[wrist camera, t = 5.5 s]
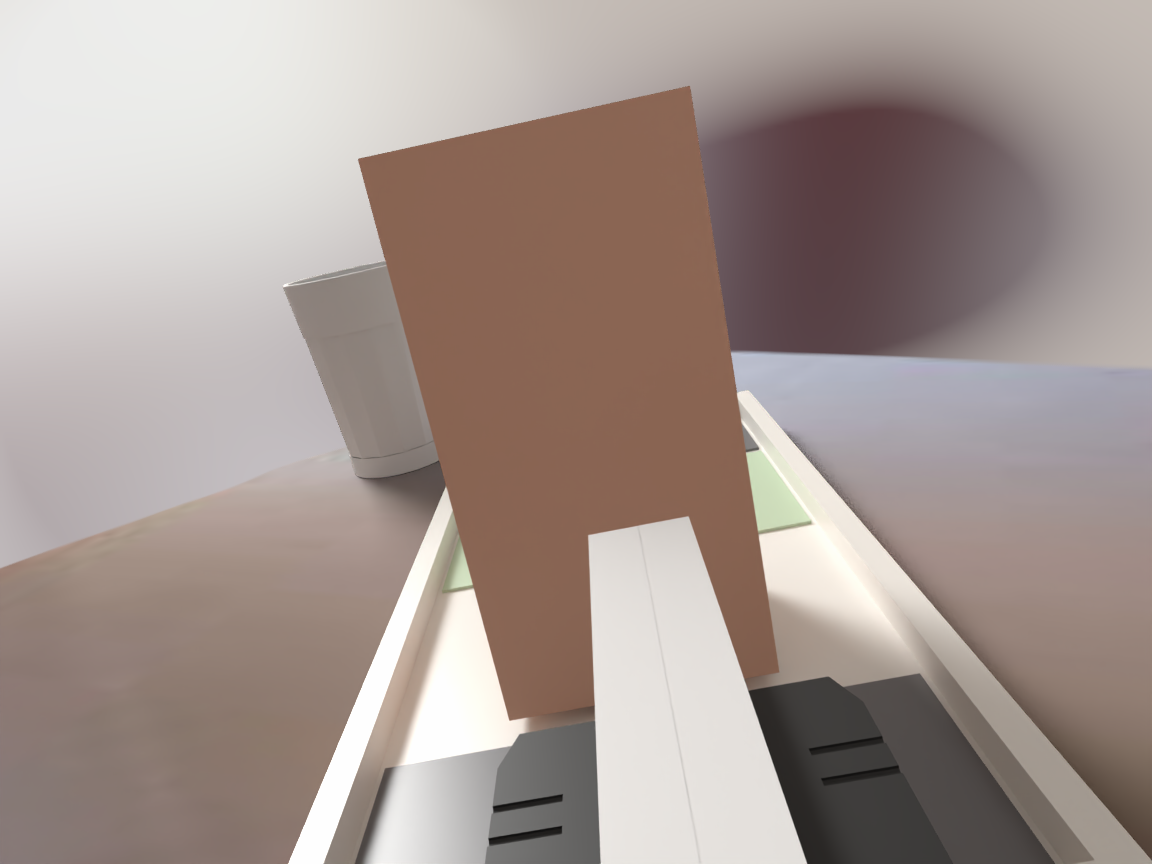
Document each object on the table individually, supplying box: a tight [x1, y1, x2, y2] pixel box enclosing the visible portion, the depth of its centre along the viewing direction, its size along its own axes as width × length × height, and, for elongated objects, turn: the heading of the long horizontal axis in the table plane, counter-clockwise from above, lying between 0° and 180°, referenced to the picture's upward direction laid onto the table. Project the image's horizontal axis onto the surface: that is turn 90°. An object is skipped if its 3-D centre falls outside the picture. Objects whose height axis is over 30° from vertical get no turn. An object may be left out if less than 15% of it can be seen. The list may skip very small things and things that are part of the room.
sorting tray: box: [289, 390, 1152, 864], centre depth 29 cm, size 16×32×2 cm, turn 0°
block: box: [358, 86, 779, 721], centre depth 22 cm, size 7×6×14 cm
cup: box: [283, 261, 439, 478], centre depth 50 cm, size 8×8×12 cm
